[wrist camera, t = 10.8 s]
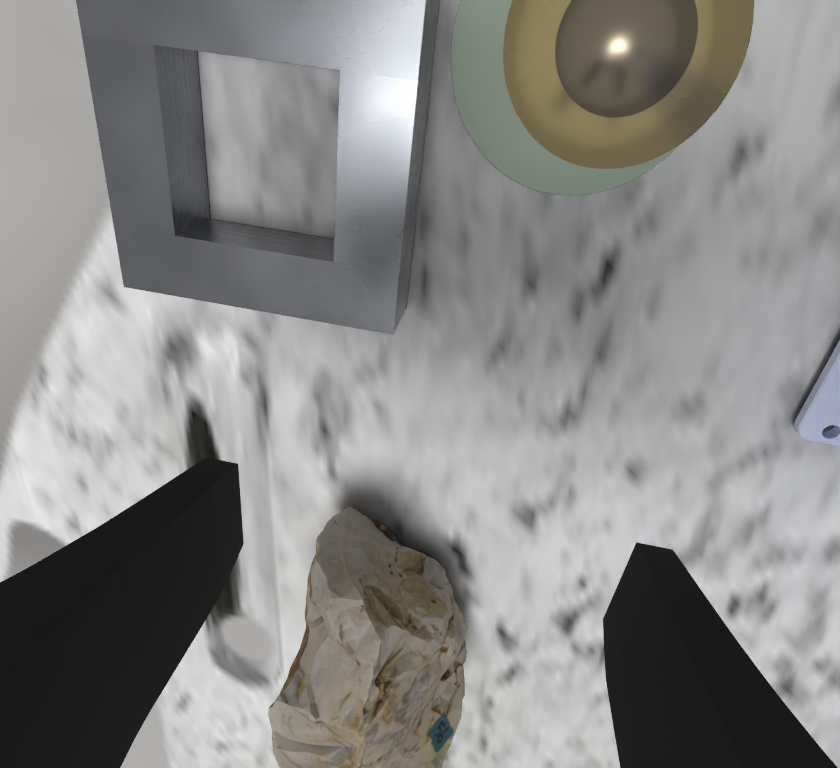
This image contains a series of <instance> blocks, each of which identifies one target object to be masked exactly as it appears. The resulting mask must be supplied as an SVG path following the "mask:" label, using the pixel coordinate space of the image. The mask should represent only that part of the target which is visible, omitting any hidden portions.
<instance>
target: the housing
mask: <svg viewBox="0 0 840 768" xmlns="http://www.w3.org/2000/svg"><path fill="white" fill-rule="evenodd" d="M76 2H77V8H78V14H79V20H80V26H81V32H82V38H83V44H84V50H85V56H86V62H87V68H88V74H89V80H90V86H91V92H92V98H93V104H94V109H95V115H96V122H97V128H98V133H99V140H100V146H101V152H102V158H103V163H104V169H105V176H106V182H107V188H108V194H109V200H110V206H111V212H112V218H113V224H114V230H115V236H116V242H117V248H118V254H119V260H120V266H121V272H122V278H123V284H124V287H128V288H134V289H139V290H145V291H150V292H156V293H162V294H167V295H173V296H179V297H184V298H190V299H196V300H201V301H207V302H213V303H218V304H224V305H230V306H235V307H241V308H247V309H252V310H258V311H264V312H269V313H275V314H281V315H286V316H292V317H297V318H303V319H309V320H314V321H320V322H326V323H331V324H337V325H343V326H348V327H354V328H360V329H365V330H371V331H377V332H382V333H388V334H394V332H395V330H396V328H397V326H398V324H399V322H400V320H401V318H402V316H403V314H404V312H405V310H406V308H407V298H408V289H409V280H410V271H411V261H412V252H413V243H414V234H415V224H416V215H417V206H418V196H419V187H420V178H421V169H422V159H423V150H424V141H425V132H426V122H427V113H428V104H429V94H430V85H431V76H432V67H433V57H434V48H435V39H436V30H437V20H438V11H439V2H440V0H76ZM197 51H202V52H210V53H217V54H225V55H232V56H239V57H247V58H254V59H262V60H269V61H276V62H284V63H291V64H298V65H306V66H313V67H321V68H328V69H335V70H340V85H339V114H338V143H337V172H336V202H335V231H334V239H330V238H324V237H318V236H312V235H306V234H299V233H293V232H287V231H281V230H275V229H269V228H263V227H256V226H250V225H244V224H238V223H232V222H226V221H220V220H214V219H210V209H209V197H208V184H207V171H206V158H205V146H204V133H203V120H202V108H201V95H200V82H199V70H198V57H197Z"/></svg>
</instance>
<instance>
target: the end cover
mask: <svg viewBox="0 0 840 768" xmlns="http://www.w3.org/2000/svg"><path fill="white" fill-rule="evenodd" d="M753 10H754V0H512V3H511V6H510V9H509V13H508V17H507V22H506V27H505V33H504V43H503V66H504V74H505V81H506V85H507V89H508V93H509V97H510V99H511V102H512V105H513V107H514V110H515V112H516V114H517V115H518V117H519V119H520V121H521V123H522V124H523V126H524V127H525V128H526V130H527V131H528V132H529V134H530V135H531V136H532V137H533V138H534V139H535V140H536V141H537V142H538V143H539V144H540V145H541V146H542V147H544V148H545V149H546V150H548V151H549V152H550V153H552V154H553V155H555V156H557V157H559V158H561V159H562V160H564V161H567V162H570V163H572V164H575V165H578V166H583V167H588V168H595V169H618V168H625V167H630V166H635V165H638V164H641V163H644V162H647V161H650V160H652V159H655V158H657V157H659V156H661V155H663V154H665V153H667V152H669V151H670V150H672V149H674V148H675V147H677V146H679V145H680V144H681V143H683V142H684V141H685V140H686V139H688V138H689V137H690V136H692V135H693V134H694V133H695V132H696V131H697V130H698V129H699V128H700V127H701V126H702V125H703V124H704V123H705V122H706V121H707V120H708V119H709V118H710V117H711V115H712V114H713V113H714V112H715V111H716V110H717V108H718V107H719V105H720V104H721V103H722V101H723V100H724V98H725V97H726V95H727V94H728V92H729V90H730V88H731V87H732V85H733V83H734V81H735V79H736V78H737V75H738V73H739V70H740V68H741V66H742V63H743V61H744V58H745V55H746V51H747V48H748V44H749V41H750V36H751V30H752V24H753Z"/></svg>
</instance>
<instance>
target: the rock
mask: <svg viewBox="0 0 840 768" xmlns="http://www.w3.org/2000/svg"><path fill="white" fill-rule="evenodd" d="M305 620H306V631H305V634H304V637H303V640H302V643H301V647H300V650H299V652H298V654H297V656H296V658H295V660H294V662H293V664H292V666H291V668H290V671H289V675H288V678H287V680H286V682H285V684H284V686H283V688H282V690H281V692H280V694H279V696H278V697H277V699H276V700H275V702H274V703H273V704H272V705H271V706H270V707H269V711H268V716H269V720H270V724H271V728H272V741H273V752H274V755H275V758H276V761H277V763H278V765H279V766H280V768H441V767H442V765H443V762H444V759H445V755H446V753H447V751H448V749H449V747H450V745H451V742H452V739H453V736H454V734H455V732H456V729H457V727H458V724H459V721H460V719H461V711H462V699H463V697H464V695H465V681H464V669H463V663H464V662H465V660H466V646H465V645H466V642H465V631H466V628H467V625H466V623H465V622H464V615H463V614H462V613H461V611H460V610H459V607H458V605H457V603H456V602H455V601H454V598H453V589H452V586H451V584H450V582H449V580H448V578H447V577H446V571H445V570H444V568H443V567H442V566H441V565H440V564H439V563H438V561H437V560H436V559H433V558H430V557H428V556H426V555H425V554H424V553H421V552H418V551H415V550H413V549H411V548H408V547H403V546H402V545H401V544H400V543H399V542H397V539H396V537H395V536H394V535H393V534H392V533H391V531H390V530H389V529H388V528H387V527H386V526H385V525H384V524H382V523H379V522H377V521H374V520H371V519H370V518H368V517H367V516H365V515H362V514H361V513H360V512H359V511H358V510H356V509H354V508H351V507H348V508H346V509H345V510H343V511H341V512H340V513H338V514H337V515H335V516H333V517H332V518H331V519H330V520H329V521H328V522H327V524H326V526H325V528H324V530H323V531H322V532H321V534H320V535H319V536H318V538H317V540H316V555H315V557H314V559H313V562H312V565H311V568H310V572H309V577H308V586H307V596H306V609H305Z"/></svg>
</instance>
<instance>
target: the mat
mask: <svg viewBox="0 0 840 768" xmlns="http://www.w3.org/2000/svg"><path fill="white" fill-rule="evenodd" d="M511 3H512V0H461V2H460V6H459V9H458V12H457V16H456V19H455V25H454V31H453V36H452V46H451V77H452V84H453V90H454V96H455V100H456V103H457V107H458V110H459V114H460V116H461V119H462V121H463V123H464V126H465V128H466V130H467V132H468V134H469V135H470V137H471V139H472V140H473V142H474V144H475V145H476V147H477V148H478V149H479V150H480V152H481V153H482V154H483V156H484V157H485V158H486V159H487V160H488V161H489V162H490V163H491V164H492V165H493V166H494V167H495V168H496V169H498V170H499V171H500V172H502V173H503V174H504V175H506V176H507V177H508V178H510V179H512V180H514V181H516V182H517V183H519V184H521V185H523V186H526V187H528V188H531V189H534V190H536V191H540V192H545V193H549V194H555V195H568V196H571V195H587V194H592V193H598V192H603V191H606V190H609V189H612V188H615V187H618V186H621V185H623V184H625V183H627V182H630V181H632V180H634V179H636V178H637V177H639V176H641V175H642V174H644V173H646V172H648V171H649V170H651V169H652V168H653V167H655V166H656V165H657V164H659V163H660V162H661V161H663V160H664V159H665V158H666V157H667V156H668V155H669V154H671V153H672V152H673V151H674V150H675V149H676V148H677V147H678V146H677V147H675V148H674V149H672V150H670V151H669V152H667V153H665V154H663V155H661V156H659V157H657V158H655V159H652V160H650V161H647V162H644V163H641V164H638V165H635V166H630V167H625V168H618V169H595V168H588V167H583V166H578V165H575V164H572V163H570V162H567V161H564V160H562V159H561V158H559V157H557V156H555V155H553V154H552V153H550V152H549V151H548V150H546V149H545V148H544V147H542V146H541V145H540V144H539V143H538V142H537V141H536V140H535V139H534V138H533V137H532V136H531V135H530V134H529V132H528V131H527V130H526V128H525V127H524V126H523V124H522V123H521V121H520V119H519V117H518V115H517V114H516V112H515V110H514V107H513V105H512V102H511V99H510V97H509V93H508V89H507V85H506V81H505V74H504V66H503V43H504V33H505V27H506V22H507V17H508V13H509V9H510V6H511Z"/></svg>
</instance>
